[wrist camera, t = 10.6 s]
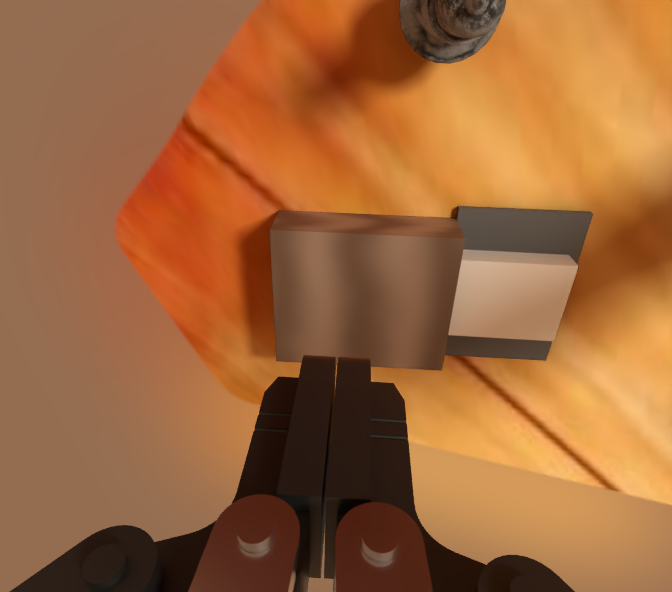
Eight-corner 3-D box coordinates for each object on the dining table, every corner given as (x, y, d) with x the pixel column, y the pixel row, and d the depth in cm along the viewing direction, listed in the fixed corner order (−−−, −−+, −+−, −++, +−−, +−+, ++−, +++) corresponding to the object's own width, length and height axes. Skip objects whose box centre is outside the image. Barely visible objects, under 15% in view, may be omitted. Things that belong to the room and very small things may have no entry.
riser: (456, 218, 37) (465, 238, 33) (435, 342, 43) (441, 370, 39) (278, 210, 37) (269, 229, 34) (283, 333, 43) (276, 361, 40)
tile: (569, 254, 37) (578, 266, 35) (546, 327, 41) (553, 341, 39) (454, 249, 37) (458, 259, 36) (441, 321, 41) (445, 334, 39)
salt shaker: (457, 75, 32) (500, 102, 21) (379, 33, 31) (385, 40, 20) (509, -21, 29) (588, -42, 18) (425, -71, 28) (459, -122, 17)
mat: (590, 211, 36) (592, 214, 35) (544, 356, 43) (546, 360, 42) (458, 206, 36) (459, 208, 36) (434, 350, 43) (435, 354, 43)
